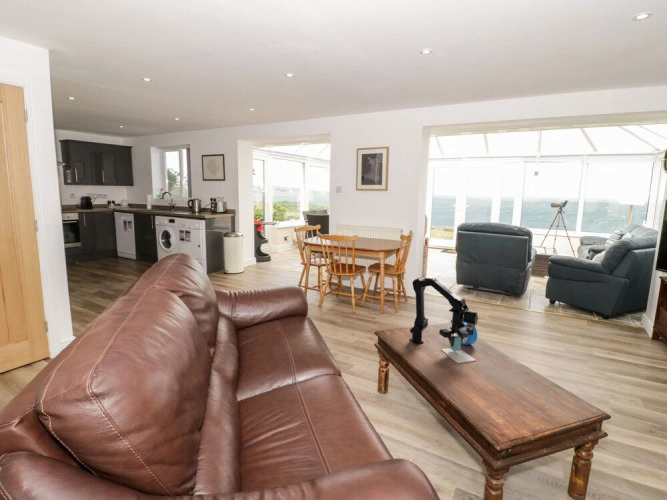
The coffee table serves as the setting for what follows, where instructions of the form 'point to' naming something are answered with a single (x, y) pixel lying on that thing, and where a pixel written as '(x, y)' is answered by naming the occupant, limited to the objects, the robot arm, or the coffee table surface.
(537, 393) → the coffee table surface
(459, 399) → the coffee table surface
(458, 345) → the block
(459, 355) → the mat
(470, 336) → the alarm clock
